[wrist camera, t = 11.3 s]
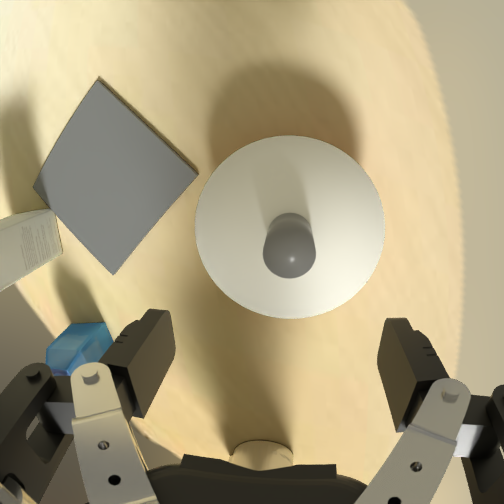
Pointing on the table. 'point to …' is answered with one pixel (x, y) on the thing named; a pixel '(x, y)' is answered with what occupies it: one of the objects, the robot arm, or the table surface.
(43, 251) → the skincare box
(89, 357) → the perfume bottle
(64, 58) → the table surface
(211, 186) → the lid
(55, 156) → the mat
